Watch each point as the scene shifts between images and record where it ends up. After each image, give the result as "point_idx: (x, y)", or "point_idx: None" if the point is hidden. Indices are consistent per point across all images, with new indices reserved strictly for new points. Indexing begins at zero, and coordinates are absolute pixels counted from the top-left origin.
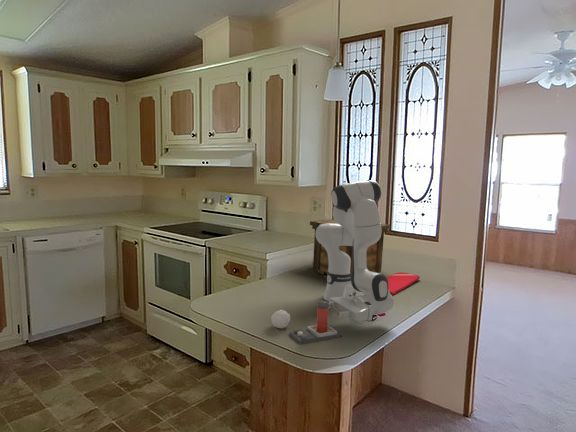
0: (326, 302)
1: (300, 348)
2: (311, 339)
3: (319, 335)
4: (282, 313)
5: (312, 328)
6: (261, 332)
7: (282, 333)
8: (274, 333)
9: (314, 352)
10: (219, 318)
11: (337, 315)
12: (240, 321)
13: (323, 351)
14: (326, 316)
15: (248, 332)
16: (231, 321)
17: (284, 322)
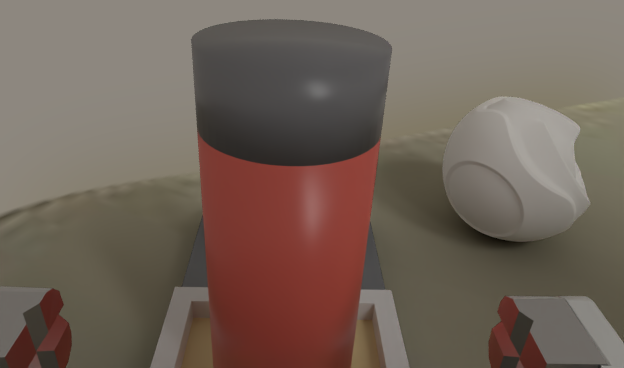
0: (249, 51)
1: (154, 206)
2: (189, 265)
3: (173, 304)
4: (482, 109)
5: (376, 345)
6: (434, 155)
7: (399, 209)
8: (408, 184)
9: (48, 236)
10: (617, 107)
11: (67, 343)
12: (590, 138)
13: (4, 281)
14: (205, 244)
15: (443, 128)
16: (585, 121)
17: (444, 167)
